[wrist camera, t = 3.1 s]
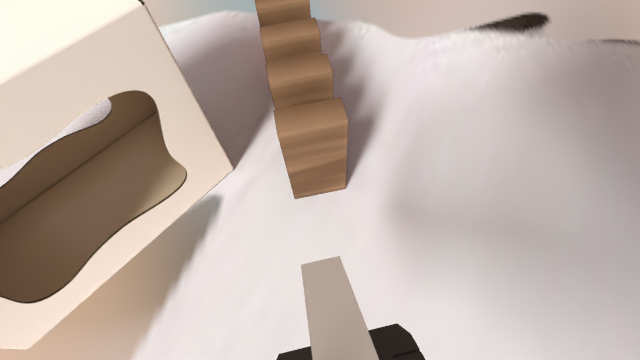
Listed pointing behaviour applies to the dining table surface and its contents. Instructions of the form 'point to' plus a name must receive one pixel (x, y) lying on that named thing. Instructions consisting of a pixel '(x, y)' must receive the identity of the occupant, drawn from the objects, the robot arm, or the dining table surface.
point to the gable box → (89, 153)
